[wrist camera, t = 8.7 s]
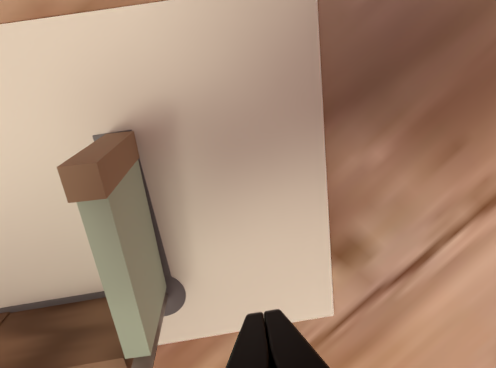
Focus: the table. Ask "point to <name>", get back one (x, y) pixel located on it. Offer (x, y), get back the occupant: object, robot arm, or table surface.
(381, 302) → the table surface
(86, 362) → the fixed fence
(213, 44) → the card
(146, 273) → the swing panel
